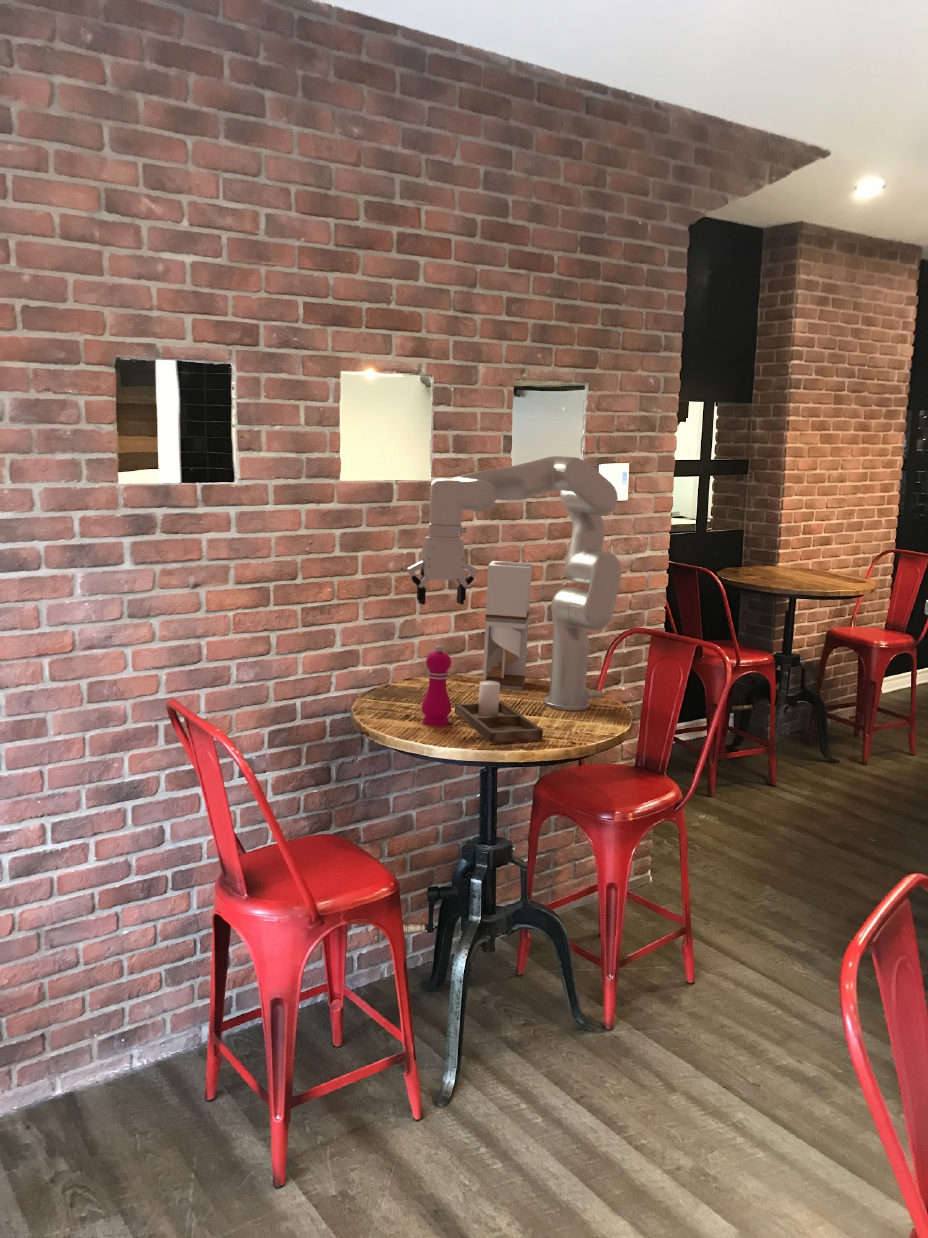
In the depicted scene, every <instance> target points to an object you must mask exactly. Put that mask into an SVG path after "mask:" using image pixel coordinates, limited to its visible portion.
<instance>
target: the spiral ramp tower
mask: <svg viewBox="0 0 928 1238" xmlns="http://www.w3.org/2000/svg"><path fill="white" fill-rule="evenodd" d="M487 567H488V568H487V580H486V581H487V582H486V584H487V585H486V603H485V619H484V620H485V621H484V624H485V625H484V626H485V631H484V645H483V646H484V648H483V650H484V651H483V664H482V665H483V668H482V681H495V682H499V683H500V690H505V689H510V690H509V691H517V692H523V688H524V686H525V683H526V668H527V667H526V666H527V653H528V652H527V651H528V635H529V618H530V605H531V604H530V601H531V590H532V589H531V587H532V585H531V584H532V573H533V572H532V571H533V563H531V562H514V561H499V560H492V561H491V562H490V563H489V564H488V565H487Z"/></svg>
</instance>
